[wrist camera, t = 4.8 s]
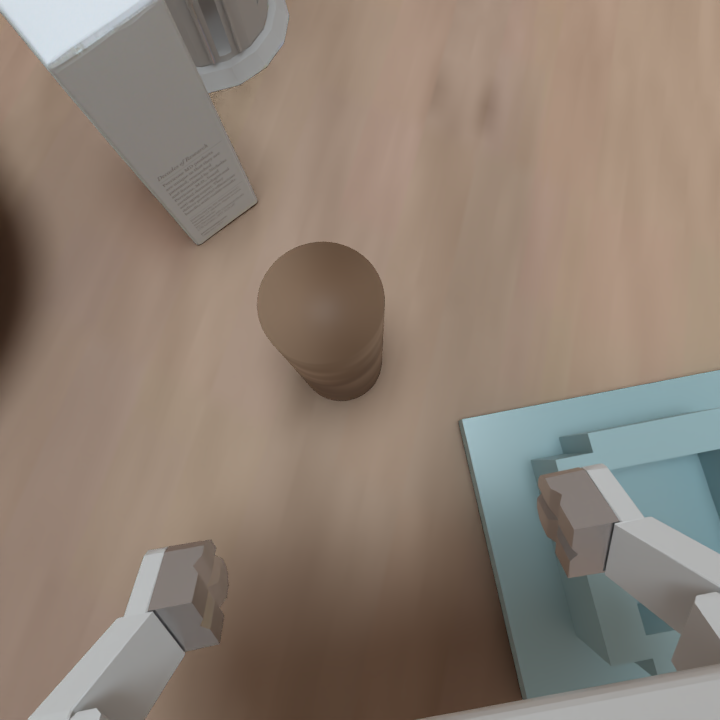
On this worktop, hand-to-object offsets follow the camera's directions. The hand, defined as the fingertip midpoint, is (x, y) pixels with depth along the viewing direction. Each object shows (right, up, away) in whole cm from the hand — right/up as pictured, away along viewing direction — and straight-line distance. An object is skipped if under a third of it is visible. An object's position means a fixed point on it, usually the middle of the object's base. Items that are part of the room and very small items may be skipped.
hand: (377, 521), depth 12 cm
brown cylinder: (-1, +4, +12) cm, 13 cm away
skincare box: (-9, +13, +14) cm, 22 cm away
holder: (+12, -3, +10) cm, 16 cm away
